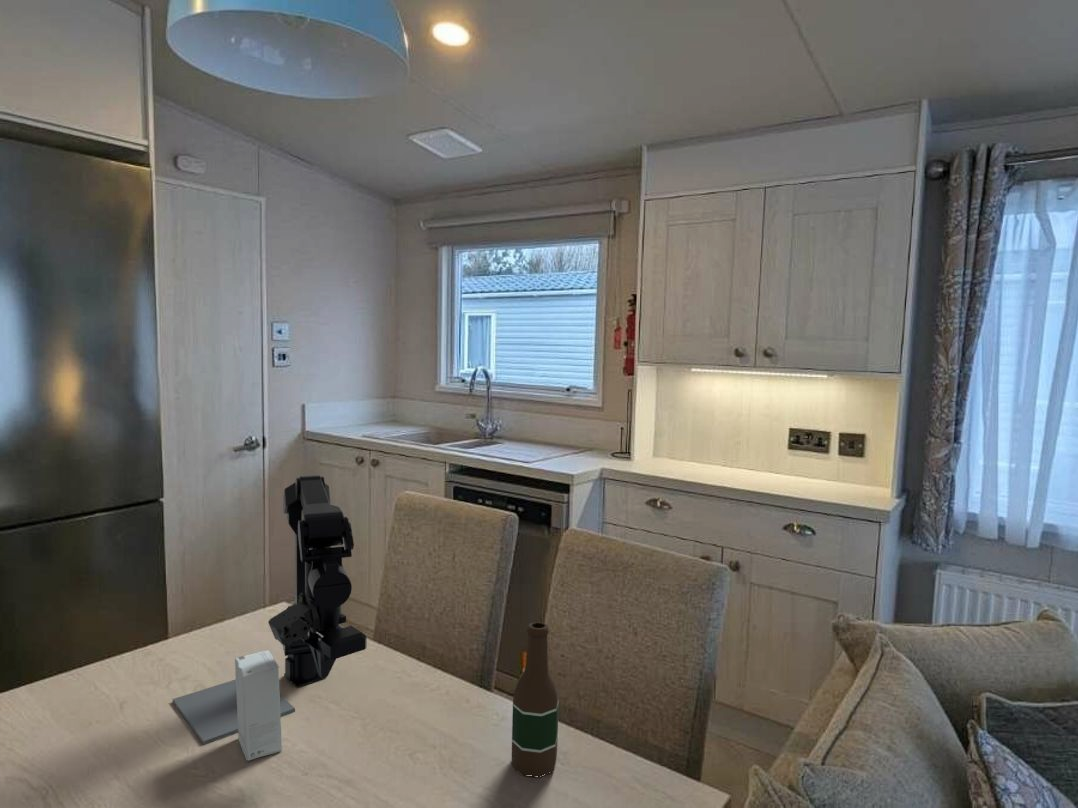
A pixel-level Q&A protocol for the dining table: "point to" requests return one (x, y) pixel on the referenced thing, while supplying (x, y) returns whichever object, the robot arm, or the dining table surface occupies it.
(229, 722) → the mat
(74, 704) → the dining table surface
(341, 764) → the dining table surface
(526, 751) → the beer bottle
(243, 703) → the skincare box
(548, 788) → the dining table surface
